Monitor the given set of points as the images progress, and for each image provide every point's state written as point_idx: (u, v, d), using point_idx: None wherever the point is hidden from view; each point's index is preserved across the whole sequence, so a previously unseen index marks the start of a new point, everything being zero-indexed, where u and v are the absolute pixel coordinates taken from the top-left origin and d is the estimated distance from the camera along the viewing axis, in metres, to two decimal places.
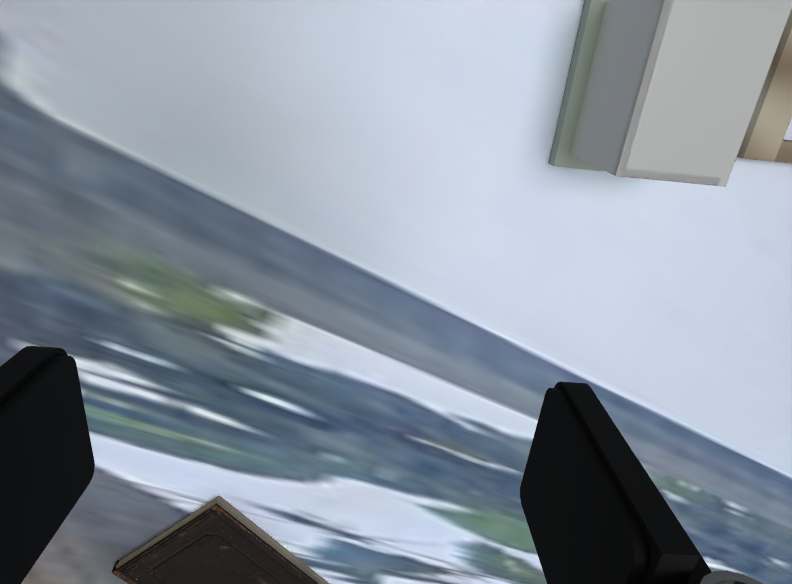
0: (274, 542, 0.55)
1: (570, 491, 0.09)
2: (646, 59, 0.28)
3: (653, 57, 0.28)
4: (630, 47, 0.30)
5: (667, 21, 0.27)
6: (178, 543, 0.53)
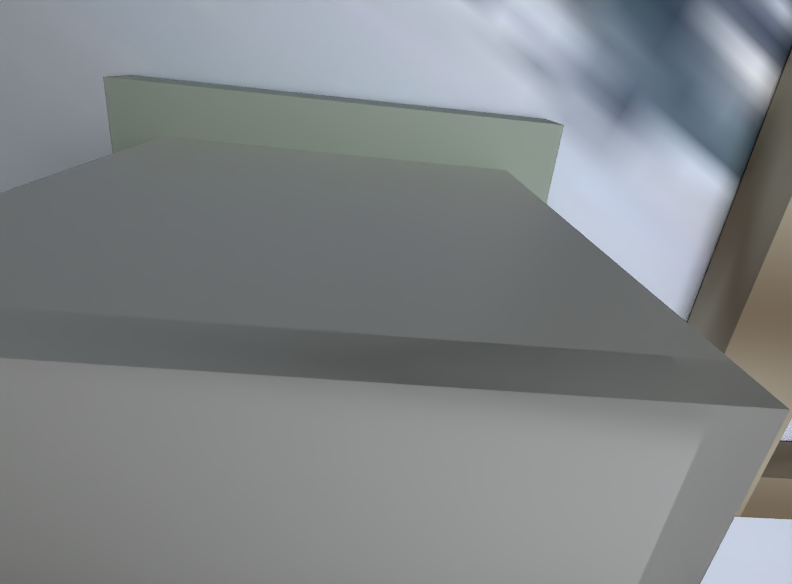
0: None
1: None
2: None
3: None
4: None
5: None
6: None
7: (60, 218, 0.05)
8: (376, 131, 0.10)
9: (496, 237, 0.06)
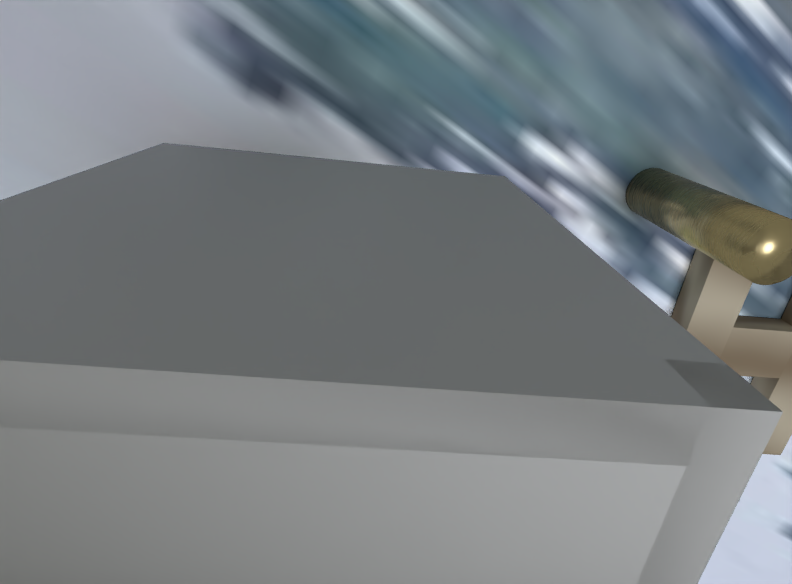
0: None
1: None
2: None
3: None
4: None
5: None
6: None
7: (65, 223, 0.05)
8: None
9: (495, 242, 0.06)
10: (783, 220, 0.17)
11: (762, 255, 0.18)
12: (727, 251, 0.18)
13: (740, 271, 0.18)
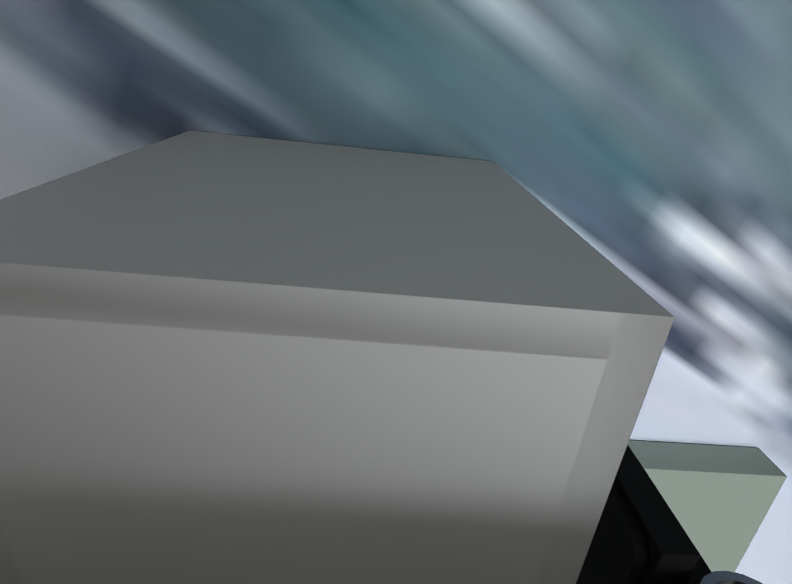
0: None
1: None
2: None
3: None
4: None
5: None
6: None
7: (129, 191, 0.07)
8: (658, 482, 0.15)
9: (477, 211, 0.07)
10: None
11: None
12: None
13: None
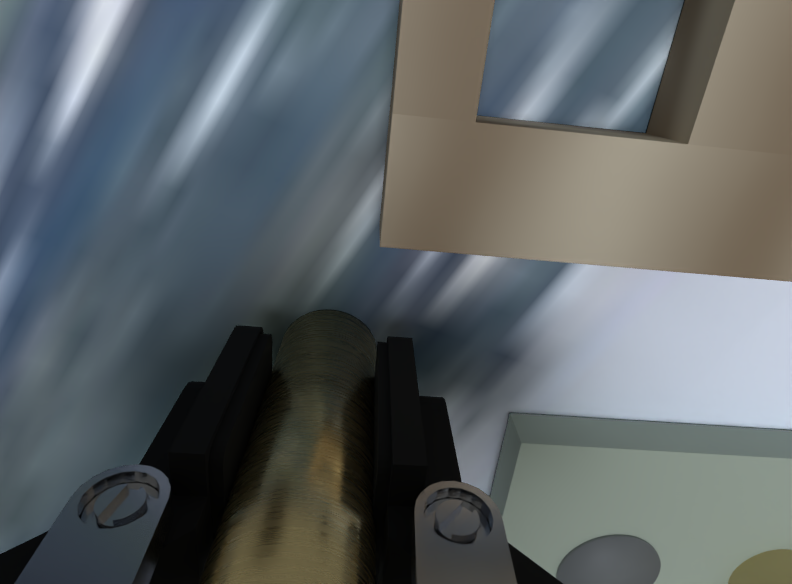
0: None
1: (374, 429, 0.09)
2: None
3: None
4: None
5: None
6: None
7: None
8: None
9: None
10: None
11: None
12: None
13: None
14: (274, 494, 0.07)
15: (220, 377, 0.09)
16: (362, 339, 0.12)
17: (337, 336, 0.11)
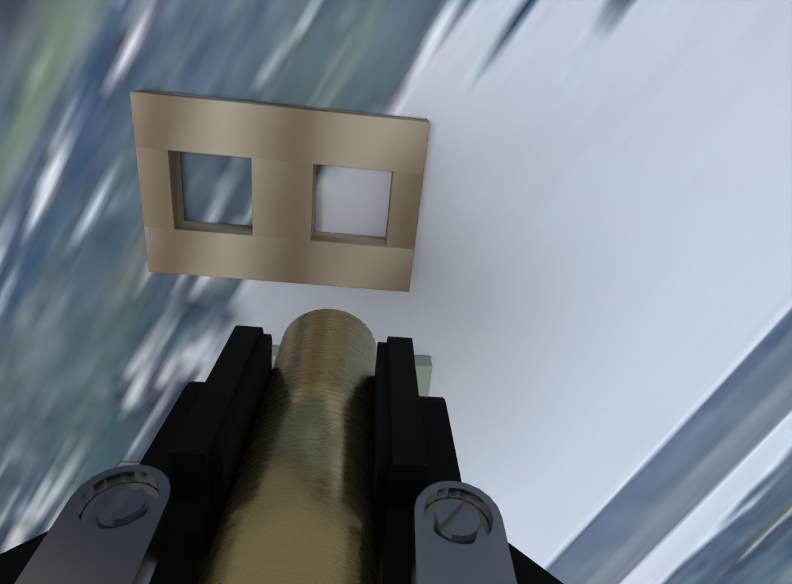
0: None
1: (374, 429, 0.09)
2: None
3: None
4: None
5: None
6: None
7: None
8: None
9: None
10: None
11: None
12: None
13: None
14: (273, 493, 0.07)
15: (220, 377, 0.09)
16: (362, 338, 0.12)
17: (337, 335, 0.11)
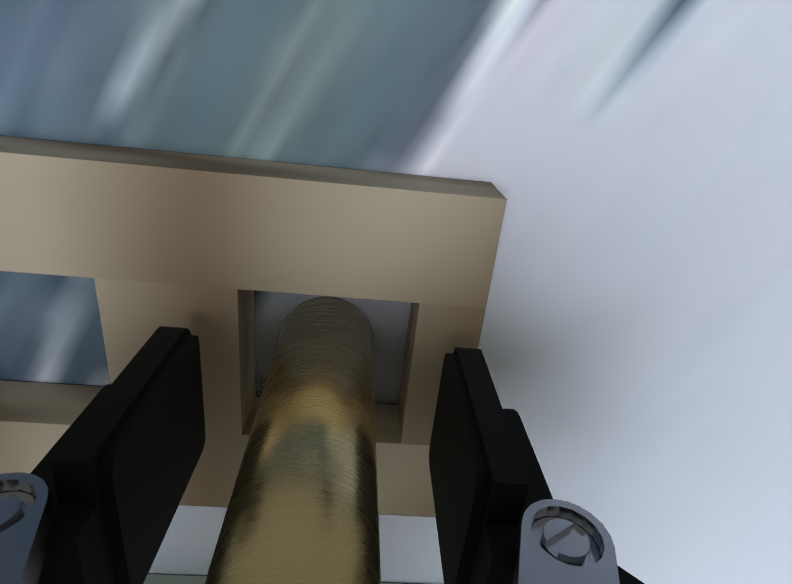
0: None
1: (451, 442, 0.09)
2: None
3: None
4: None
5: None
6: None
7: None
8: None
9: None
10: None
11: None
12: None
13: None
14: (285, 461, 0.08)
15: (128, 380, 0.08)
16: (359, 324, 0.12)
17: (335, 321, 0.12)
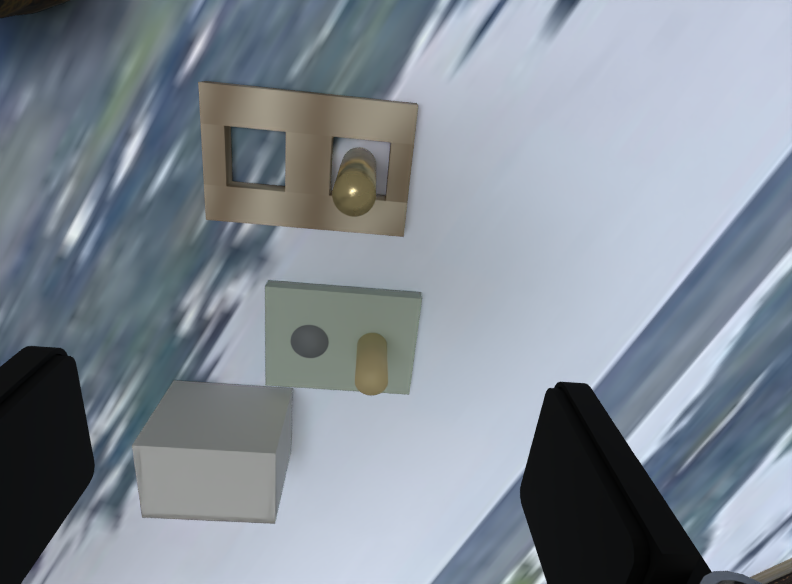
0: (774, 569, 0.55)
1: (570, 491, 0.09)
2: (191, 517, 0.39)
3: (188, 517, 0.39)
4: None
5: (164, 514, 0.38)
6: None
7: None
8: (271, 330, 0.40)
9: None
10: (332, 197, 0.28)
11: (355, 203, 0.28)
12: None
13: None
14: (351, 162, 0.30)
15: None
16: (370, 155, 0.35)
17: (362, 151, 0.34)
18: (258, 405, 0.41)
